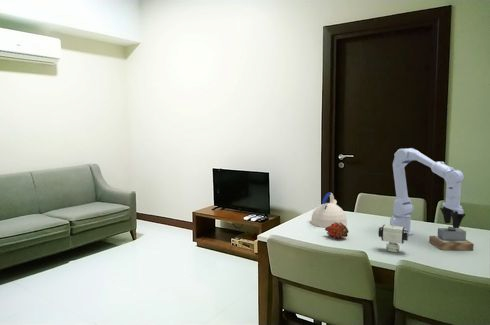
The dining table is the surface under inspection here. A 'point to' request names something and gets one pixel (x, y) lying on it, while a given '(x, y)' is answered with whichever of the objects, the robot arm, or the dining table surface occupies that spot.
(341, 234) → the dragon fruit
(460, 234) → the block
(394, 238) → the pneumatic valve
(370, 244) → the dining table surface
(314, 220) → the kettle
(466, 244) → the stand
